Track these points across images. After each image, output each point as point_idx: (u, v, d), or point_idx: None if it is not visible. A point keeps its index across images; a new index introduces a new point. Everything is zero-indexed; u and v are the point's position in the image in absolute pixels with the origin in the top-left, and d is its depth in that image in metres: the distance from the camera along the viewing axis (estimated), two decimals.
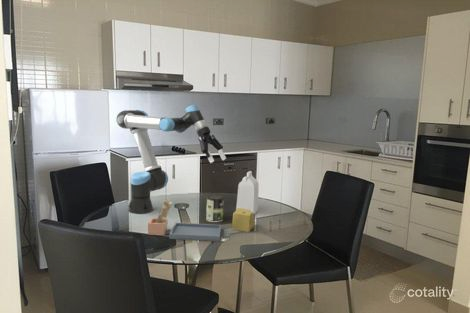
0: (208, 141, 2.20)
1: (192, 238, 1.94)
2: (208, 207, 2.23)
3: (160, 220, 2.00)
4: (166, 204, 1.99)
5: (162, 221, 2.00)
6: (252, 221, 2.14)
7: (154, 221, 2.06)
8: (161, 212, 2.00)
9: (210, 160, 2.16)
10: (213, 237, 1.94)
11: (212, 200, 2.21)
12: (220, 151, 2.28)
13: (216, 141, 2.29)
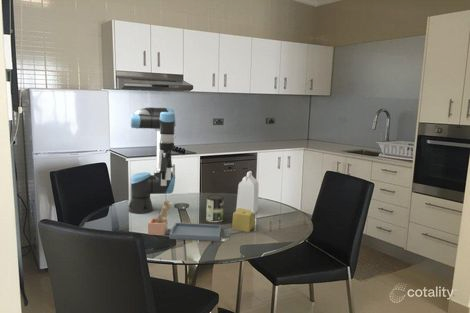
0: (168, 160, 1.95)
1: (192, 238, 1.94)
2: (208, 207, 2.23)
3: (160, 220, 2.00)
4: (166, 204, 1.99)
5: (162, 221, 2.00)
6: (252, 221, 2.14)
7: (154, 221, 2.06)
8: (161, 212, 2.00)
9: (162, 183, 1.92)
10: (213, 237, 1.94)
11: (212, 200, 2.21)
12: (168, 170, 2.05)
13: None
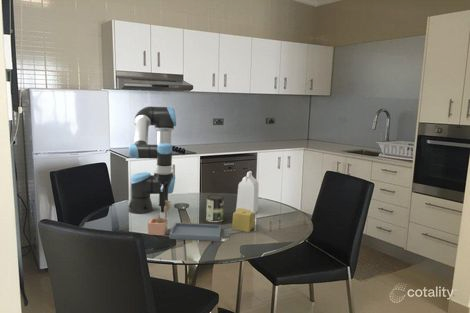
0: (166, 191, 1.98)
1: (192, 238, 1.94)
2: (208, 207, 2.23)
3: (160, 220, 2.00)
4: (166, 204, 1.99)
5: (162, 221, 2.00)
6: (252, 221, 2.14)
7: (154, 221, 2.06)
8: None
9: (161, 215, 1.99)
10: (213, 237, 1.94)
11: (212, 200, 2.21)
12: None
13: (167, 191, 2.04)
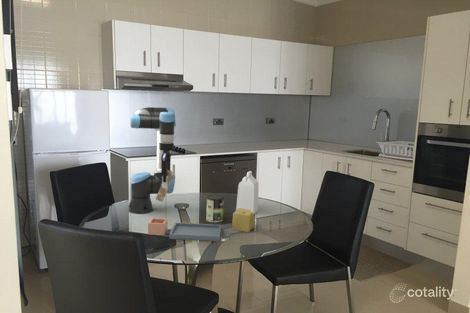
0: (168, 161, 1.96)
1: (192, 238, 1.94)
2: (208, 207, 2.23)
3: (162, 190, 1.98)
4: (168, 174, 1.96)
5: (164, 192, 1.98)
6: (252, 221, 2.14)
7: (154, 221, 2.06)
8: None
9: (163, 185, 1.97)
10: (213, 237, 1.94)
11: (212, 200, 2.21)
12: None
13: (169, 161, 2.02)
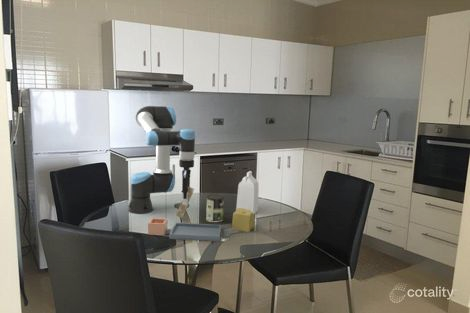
0: (189, 178, 1.97)
1: (192, 238, 1.94)
2: (208, 207, 2.23)
3: (182, 207, 1.99)
4: (189, 191, 1.98)
5: (184, 208, 1.99)
6: (252, 221, 2.14)
7: (154, 221, 2.06)
8: None
9: (184, 202, 1.98)
10: (213, 237, 1.94)
11: (212, 200, 2.21)
12: None
13: (189, 177, 2.03)
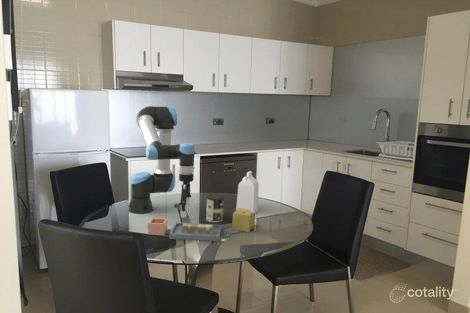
0: (188, 191, 1.97)
1: (192, 238, 1.94)
2: (208, 207, 2.23)
3: (192, 229, 2.01)
4: (210, 230, 2.01)
5: (192, 231, 2.01)
6: (252, 221, 2.14)
7: (154, 221, 2.06)
8: (201, 228, 2.01)
9: (182, 214, 1.94)
10: (213, 237, 1.94)
11: (212, 200, 2.21)
12: (187, 199, 2.07)
13: None
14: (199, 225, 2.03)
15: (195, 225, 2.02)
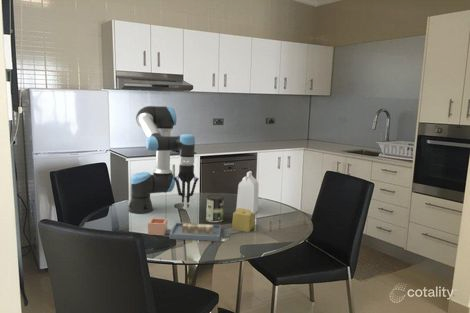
0: (184, 183, 1.97)
1: (192, 238, 1.94)
2: (208, 207, 2.23)
3: (192, 229, 2.01)
4: (210, 230, 2.01)
5: (192, 231, 2.01)
6: (252, 221, 2.14)
7: (154, 221, 2.06)
8: (201, 228, 2.01)
9: None
10: (213, 237, 1.94)
11: (212, 200, 2.21)
12: None
13: None
14: (199, 225, 2.03)
15: (195, 225, 2.02)
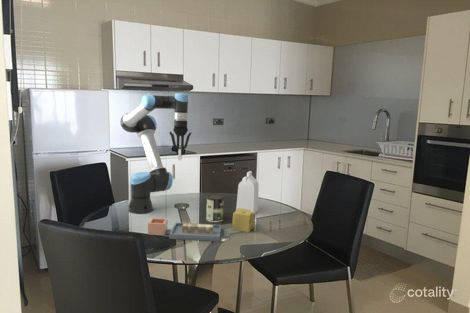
0: (178, 136, 2.22)
1: (192, 238, 1.94)
2: (208, 207, 2.23)
3: (192, 229, 2.01)
4: (210, 230, 2.01)
5: (192, 231, 2.01)
6: (252, 221, 2.14)
7: (154, 221, 2.06)
8: (201, 228, 2.01)
9: None
10: (213, 237, 1.94)
11: (212, 200, 2.21)
12: None
13: (186, 139, 2.23)
14: (199, 225, 2.03)
15: (195, 225, 2.02)
